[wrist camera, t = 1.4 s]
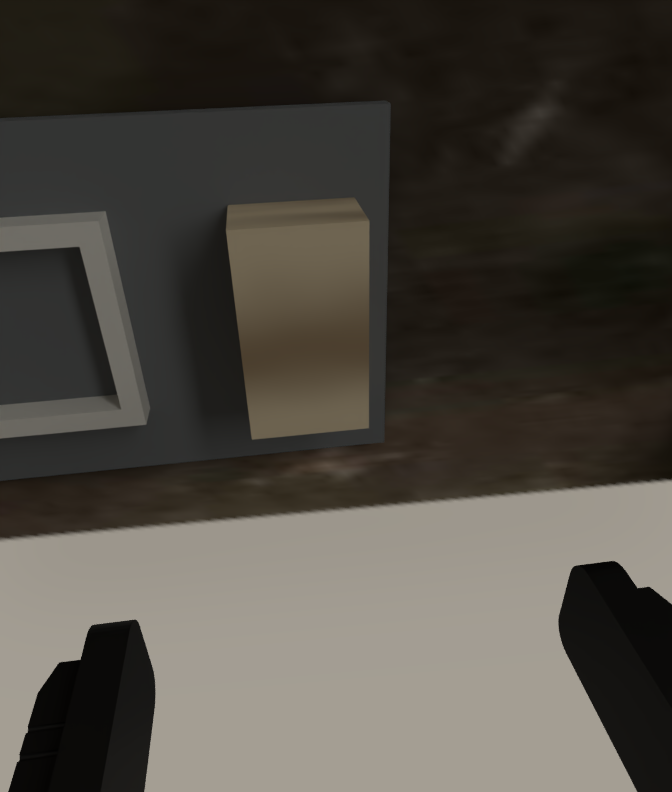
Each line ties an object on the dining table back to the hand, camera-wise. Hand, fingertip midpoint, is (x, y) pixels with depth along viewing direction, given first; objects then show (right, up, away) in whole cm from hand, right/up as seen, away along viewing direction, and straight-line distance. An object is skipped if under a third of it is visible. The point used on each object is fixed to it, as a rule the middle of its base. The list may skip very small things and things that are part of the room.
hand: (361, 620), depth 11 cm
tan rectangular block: (-2, +8, +12) cm, 15 cm away
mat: (-9, +7, +12) cm, 17 cm away
